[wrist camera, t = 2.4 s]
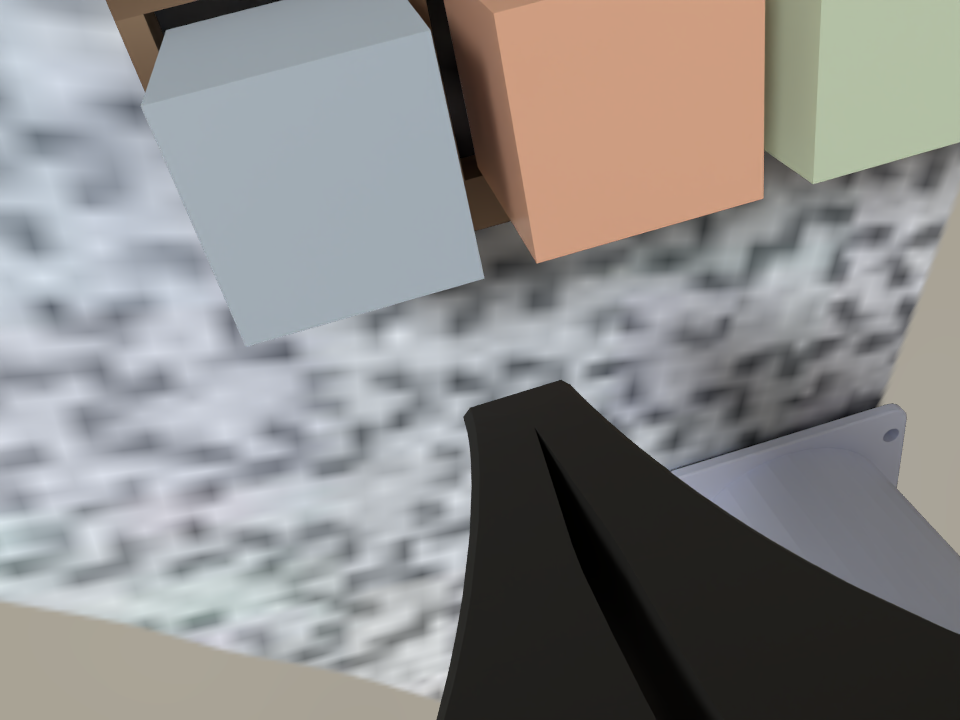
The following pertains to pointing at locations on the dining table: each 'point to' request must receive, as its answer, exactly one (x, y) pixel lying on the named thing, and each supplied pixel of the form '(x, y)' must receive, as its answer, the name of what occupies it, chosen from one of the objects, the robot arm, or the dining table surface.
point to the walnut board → (137, 3)
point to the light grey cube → (314, 160)
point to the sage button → (859, 82)
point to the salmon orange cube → (612, 112)
